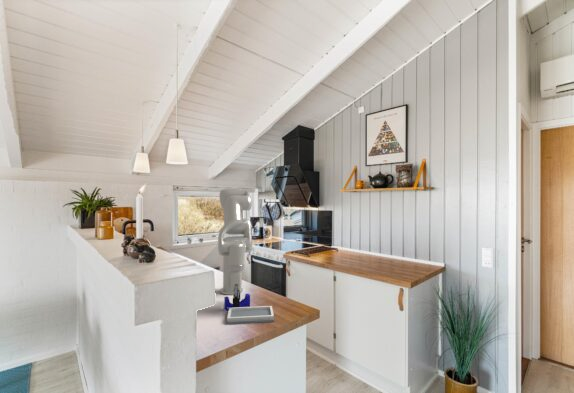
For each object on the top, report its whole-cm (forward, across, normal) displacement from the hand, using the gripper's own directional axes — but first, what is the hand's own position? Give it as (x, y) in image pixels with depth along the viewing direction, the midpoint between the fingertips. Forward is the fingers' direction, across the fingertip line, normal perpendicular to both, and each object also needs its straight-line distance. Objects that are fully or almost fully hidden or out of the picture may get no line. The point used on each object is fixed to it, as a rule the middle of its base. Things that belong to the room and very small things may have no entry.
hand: (236, 303), depth 138 cm
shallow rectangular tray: (+2, +12, +7) cm, 14 cm away
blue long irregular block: (+2, +1, 0) cm, 2 cm away
